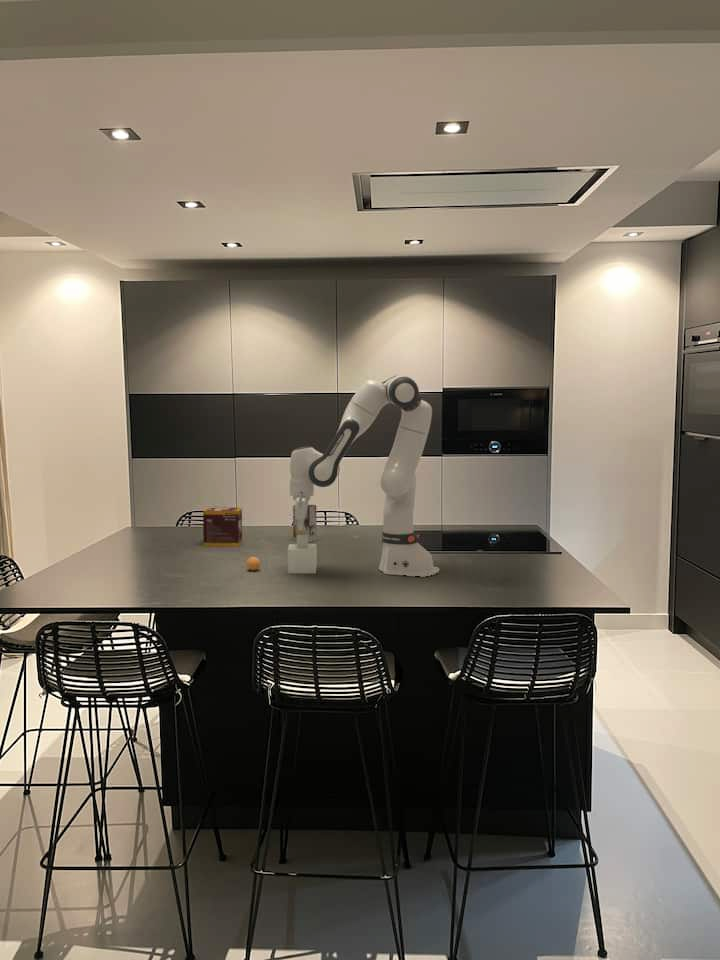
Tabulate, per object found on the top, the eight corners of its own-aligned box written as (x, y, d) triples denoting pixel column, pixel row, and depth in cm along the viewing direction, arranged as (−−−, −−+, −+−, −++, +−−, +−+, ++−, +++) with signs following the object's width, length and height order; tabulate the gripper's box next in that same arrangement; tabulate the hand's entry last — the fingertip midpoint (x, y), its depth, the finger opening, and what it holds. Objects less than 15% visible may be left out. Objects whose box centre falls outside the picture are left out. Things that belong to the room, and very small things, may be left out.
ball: (263, 569, 276) (263, 556, 275) (254, 572, 271) (254, 559, 271) (252, 568, 278) (252, 555, 278) (244, 570, 274) (243, 557, 273)
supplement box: (238, 546, 319) (238, 510, 318) (203, 546, 320) (202, 510, 318) (243, 542, 330) (242, 507, 328) (208, 541, 330) (207, 507, 328)
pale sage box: (316, 567, 281) (316, 533, 279) (315, 573, 271) (315, 538, 269) (289, 567, 280) (289, 533, 279) (287, 573, 270) (287, 538, 269)
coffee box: (317, 540, 334) (317, 504, 332) (309, 542, 329) (309, 506, 327) (300, 538, 338) (299, 503, 337) (292, 540, 333) (292, 505, 331)
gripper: (309, 494, 262) (308, 533, 264) (311, 487, 282) (310, 523, 284) (291, 494, 262) (291, 532, 263) (294, 487, 282) (293, 523, 284)
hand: (301, 527), depth 274 cm, fingers open, 8 cm apart
